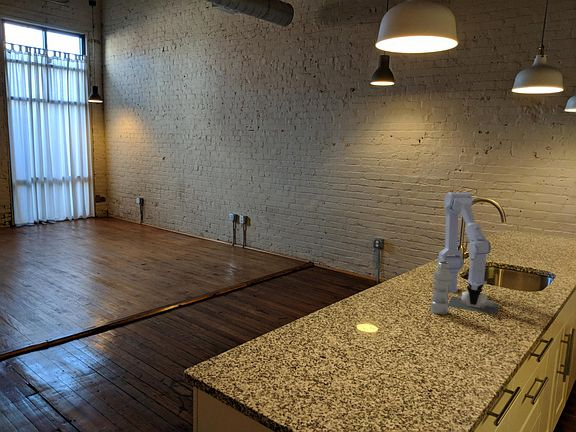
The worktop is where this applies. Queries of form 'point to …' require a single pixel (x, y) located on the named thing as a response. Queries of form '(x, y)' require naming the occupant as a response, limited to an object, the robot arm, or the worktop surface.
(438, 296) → the plastic bottle
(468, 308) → the rubber mat
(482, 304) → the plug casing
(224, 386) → the worktop surface
